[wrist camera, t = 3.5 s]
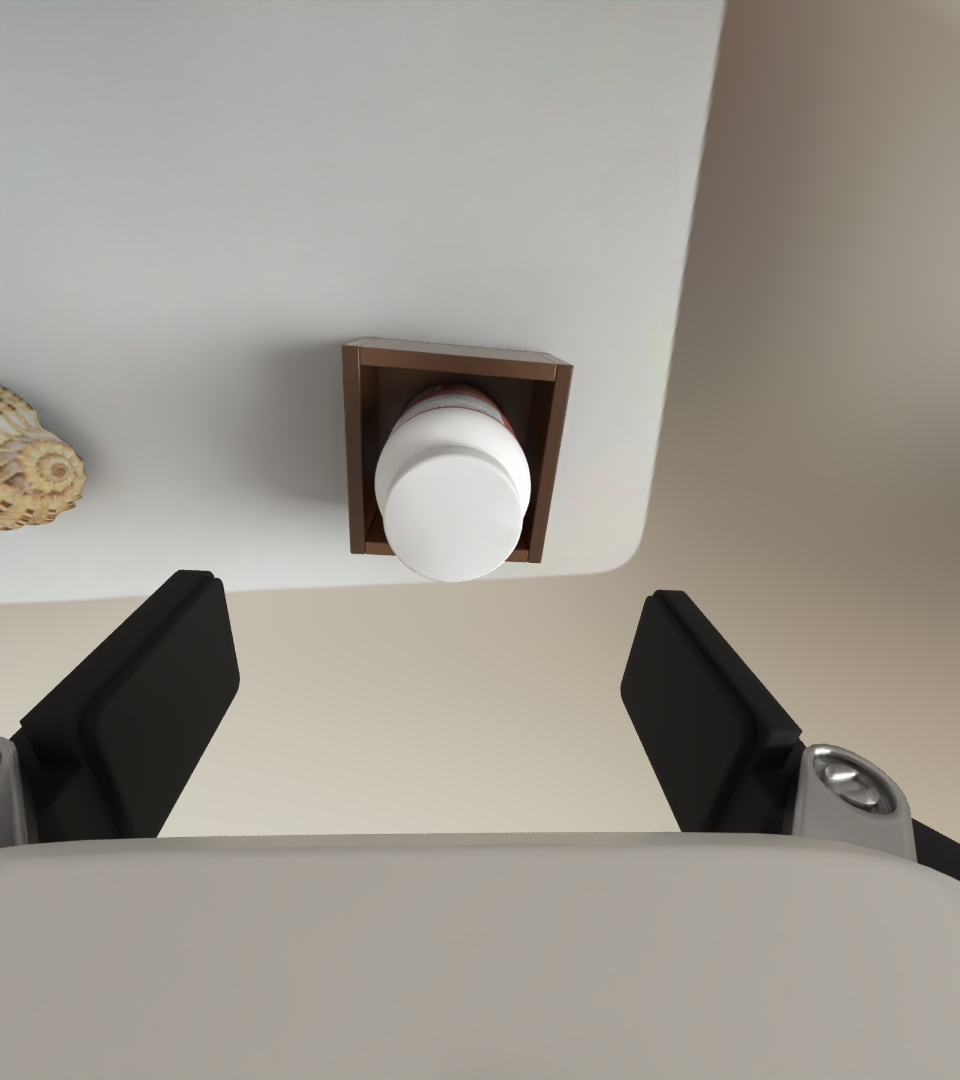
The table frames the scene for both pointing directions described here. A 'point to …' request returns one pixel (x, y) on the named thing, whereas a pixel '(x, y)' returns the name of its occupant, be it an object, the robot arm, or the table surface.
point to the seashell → (34, 468)
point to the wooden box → (410, 367)
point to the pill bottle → (452, 484)
